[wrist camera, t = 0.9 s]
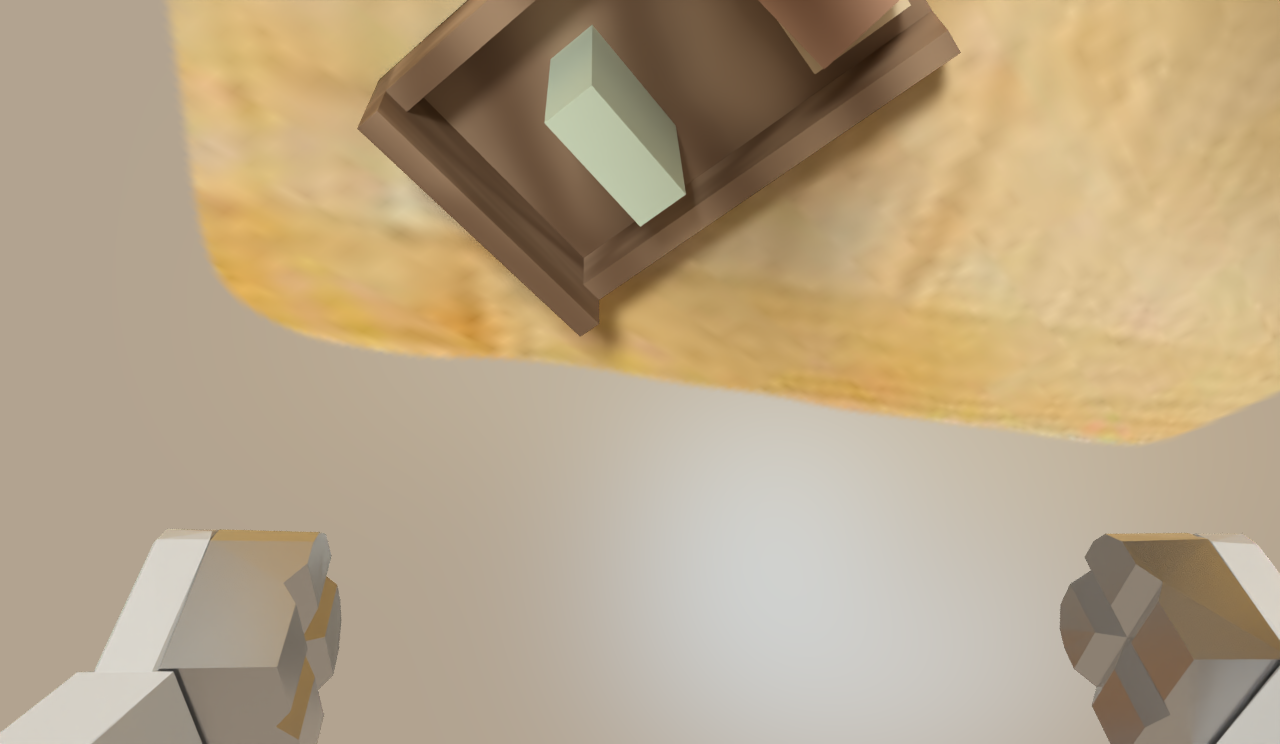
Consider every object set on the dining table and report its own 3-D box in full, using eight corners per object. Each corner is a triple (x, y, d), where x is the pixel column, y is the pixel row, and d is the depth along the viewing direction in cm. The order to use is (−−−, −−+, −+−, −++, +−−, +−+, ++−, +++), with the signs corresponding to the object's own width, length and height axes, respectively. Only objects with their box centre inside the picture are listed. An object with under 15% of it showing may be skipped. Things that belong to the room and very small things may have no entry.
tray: (767, -270, 34) (789, -253, 31) (940, 27, 42) (975, 71, 38) (379, 79, 42) (357, 128, 38) (581, 279, 50) (580, 336, 46)
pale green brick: (592, 24, 40) (591, 85, 36) (675, 125, 44) (686, 194, 39) (550, 59, 41) (544, 123, 36) (635, 155, 45) (640, 226, 40)
